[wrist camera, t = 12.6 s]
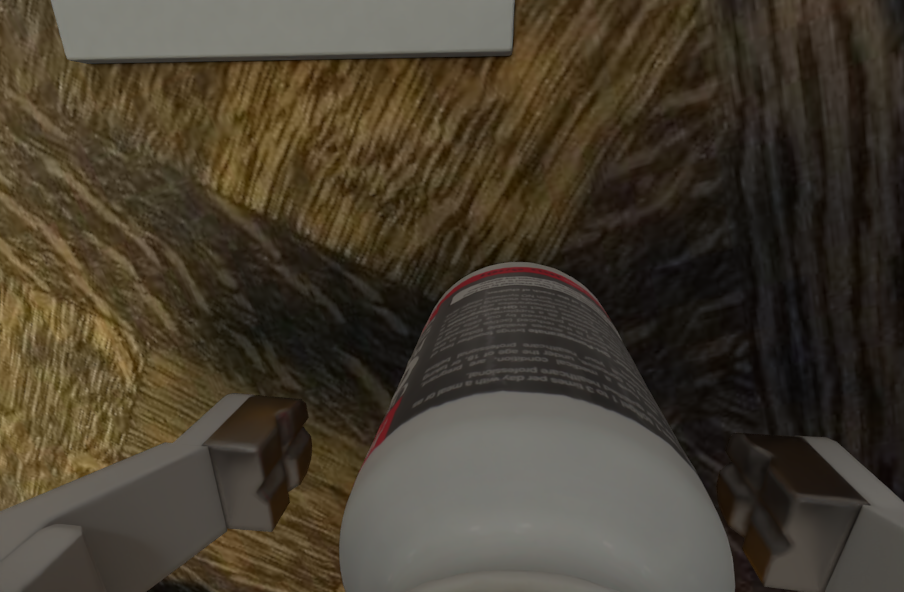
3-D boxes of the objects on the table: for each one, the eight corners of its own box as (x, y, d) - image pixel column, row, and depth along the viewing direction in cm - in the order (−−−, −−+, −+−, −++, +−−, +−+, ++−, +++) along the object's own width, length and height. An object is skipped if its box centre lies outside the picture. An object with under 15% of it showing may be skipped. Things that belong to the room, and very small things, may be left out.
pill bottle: (401, 282, 12) (77, 714, 3) (594, 236, 11) (1004, 694, 2) (452, 437, 14) (345, 1020, 5) (626, 410, 13) (930, 1108, 4)
